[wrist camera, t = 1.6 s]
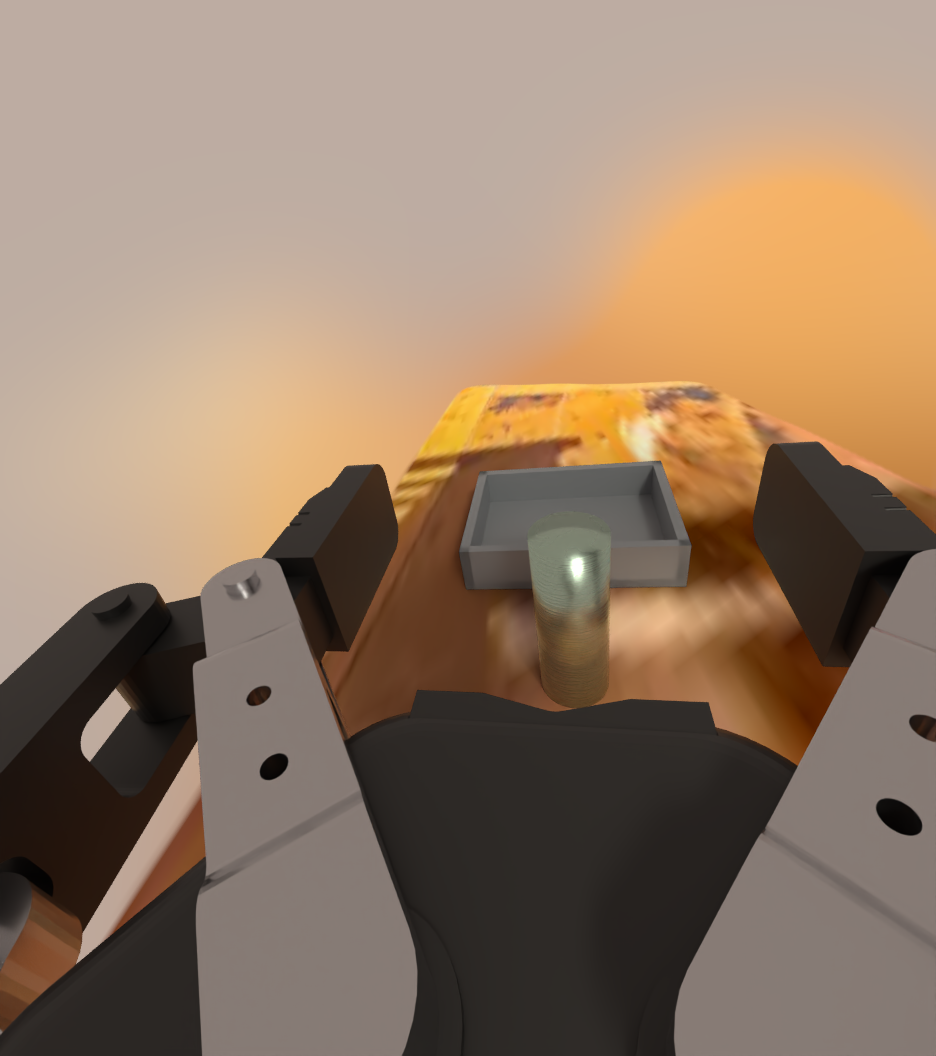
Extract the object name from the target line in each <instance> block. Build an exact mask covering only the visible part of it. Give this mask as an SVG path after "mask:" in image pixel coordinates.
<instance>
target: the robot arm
mask: <svg viewBox="0 0 936 1056" xmlns="http://www.w3.org/2000/svg"><path fill="white" fill-rule="evenodd" d="M298 513H299V514H298V515H297V516H295V517H294V519H293V520H292V521H291V522H290V526H288V527H286V529H285V530H284V531H283V532H282V534H281V535H280V536H279V537H278V538H277V540H276V541H275V542H274V544H273V545H272V546H271V547H270V548H269V550H268V551H267V552H266V553H265V555H264V556H263V557H262V558H256V559H250V560H245V561H242V562H239V563H236V564H234V565H231V566H229V567H227V568H225V569H223V570H222V571H220V572H219V573H217V574H216V575H215V576H213V577H212V578H211V579H210V580H209V581H208V582H207V583H206V585H205V586H204V587H203V589H202V592H201V596H197V597H193V598H189V599H184V600H179V601H175V602H170V603H166V604H165V602H164V600H163V599H162V597H161V596H160V594H159V592H158V591H157V589H156V588H155V587H154V586H153V585H151V584H147V583H135V584H130V585H126V586H122V587H119V588H116V589H113V590H111V591H109V592H106V593H104V594H102V595H101V596H99V597H97V598H95V599H94V600H92V601H91V602H89V603H88V604H86V605H85V606H84V607H83V608H82V609H80V610H79V611H78V612H77V613H76V614H75V615H74V616H73V617H72V618H71V619H70V620H69V621H68V622H66V623H65V624H64V625H63V626H62V627H61V628H60V629H59V630H58V631H57V632H56V633H55V634H54V635H53V636H52V637H51V638H49V639H48V640H47V641H46V642H45V643H44V644H43V645H42V646H41V647H40V648H39V649H38V650H37V651H36V652H35V653H34V654H33V655H31V656H30V657H29V658H28V659H27V660H26V661H25V662H24V663H23V664H22V665H21V666H20V667H19V668H18V669H17V670H16V671H14V673H12V674H11V675H10V676H9V677H8V678H7V679H6V680H5V681H4V682H3V683H2V684H1V685H0V1056H936V534H935V533H934V532H933V531H931V530H930V529H929V528H928V527H927V526H926V525H925V524H924V523H923V522H922V521H921V520H920V519H919V518H918V517H917V516H916V515H915V514H914V513H912V512H911V511H910V510H906V506H905V505H904V504H903V503H902V502H901V501H900V500H899V499H898V498H897V497H892V493H891V492H890V491H889V490H888V489H887V488H886V487H885V486H884V485H883V484H882V483H881V482H880V481H879V480H878V479H877V478H875V477H873V476H871V475H869V474H866V473H864V472H862V471H860V470H858V469H856V468H854V467H852V466H850V465H844V466H842V465H841V464H840V463H839V462H838V461H837V460H836V459H835V458H834V457H833V456H832V455H831V454H830V452H829V451H828V450H827V449H826V448H825V447H824V446H823V445H822V444H820V443H819V442H799V443H780V444H772V445H771V446H770V447H769V449H768V451H767V454H766V457H765V462H764V467H763V472H762V477H761V481H760V486H759V491H758V496H757V501H756V506H755V510H754V518H753V528H754V535H755V539H756V542H757V544H758V546H759V548H760V550H761V552H762V554H763V555H764V557H765V559H766V561H767V563H768V565H769V567H770V568H771V570H772V572H773V574H774V576H775V578H776V580H777V582H778V583H779V585H780V587H781V589H782V591H783V593H784V595H785V597H786V598H787V600H788V602H789V604H790V606H791V608H792V610H793V611H794V613H795V615H796V617H797V619H798V621H799V623H800V625H801V626H802V628H803V630H804V632H805V634H806V636H807V638H808V639H809V641H810V643H811V645H812V647H813V649H814V651H815V653H816V654H817V656H818V658H819V660H820V662H821V664H822V666H829V667H850V668H849V670H848V672H847V674H846V676H845V678H844V680H843V682H842V683H841V685H840V687H839V689H838V691H837V693H836V695H835V697H834V699H833V701H832V702H831V704H830V706H829V708H828V710H827V712H826V714H825V716H824V718H823V720H822V722H821V723H820V725H819V727H818V729H817V731H816V733H815V735H814V737H813V739H812V741H811V743H810V744H809V746H808V748H807V750H806V752H805V754H804V756H803V758H802V760H801V762H800V763H799V765H798V766H797V765H795V764H794V763H793V762H791V761H790V760H788V759H787V758H785V757H783V756H781V755H780V754H778V753H776V752H774V751H773V750H771V749H769V748H767V747H765V746H763V745H761V744H759V743H757V742H755V741H753V740H750V739H748V738H746V737H743V736H741V735H738V734H735V733H732V732H730V731H727V730H723V729H720V728H716V727H715V724H714V721H713V717H712V713H711V710H710V706H709V703H708V702H685V701H662V700H639V699H628V700H623V701H617V702H611V703H606V704H600V705H594V706H589V707H583V708H577V709H572V710H566V711H559V712H552V711H547V710H543V709H539V708H536V707H532V706H528V705H525V704H521V703H518V702H514V701H510V700H507V699H503V698H500V697H496V696H492V695H489V694H485V693H475V692H452V691H429V690H417V693H416V696H415V700H414V703H413V706H412V710H411V712H408V713H403V714H400V715H396V716H393V717H390V718H387V719H384V720H382V721H380V722H377V723H375V724H372V725H371V726H369V727H367V728H365V729H363V730H361V731H359V732H358V733H356V734H355V735H353V736H352V737H350V734H349V732H348V729H347V726H346V724H345V721H344V719H343V716H342V713H341V711H340V708H339V705H338V703H337V700H336V698H335V695H334V692H333V690H332V687H331V685H330V682H329V679H328V677H327V674H326V672H325V669H324V667H323V664H322V662H321V660H322V658H323V656H324V654H325V652H326V651H346V652H349V650H350V647H351V645H352V643H353V641H354V639H355V636H356V634H357V632H358V630H359V628H360V626H361V623H362V621H363V619H364V617H365V615H366V613H367V610H368V608H369V606H370V604H371V602H372V600H373V597H374V595H375V593H376V591H377V589H378V587H379V584H380V582H381V580H382V578H383V576H384V573H385V571H386V569H387V567H388V565H389V563H390V560H391V558H392V556H393V554H394V552H395V550H396V547H397V543H398V524H397V519H396V515H395V511H394V507H393V503H392V499H391V495H390V491H389V488H388V484H387V480H386V476H385V472H384V470H383V468H382V467H381V466H380V465H378V464H375V465H374V464H373V465H356V466H355V465H354V466H346V467H345V468H344V469H343V471H342V472H341V473H340V474H339V476H338V477H337V478H336V480H335V481H334V482H333V484H332V485H331V486H330V487H329V488H325V489H324V490H322V491H321V492H319V493H318V494H316V495H315V496H313V497H312V498H310V499H309V500H308V501H307V503H306V504H305V505H304V506H303V507H302V509H301V510H300V511H299V512H298ZM115 688H116V689H117V690H118V692H119V693H120V694H121V696H122V697H123V698H124V699H125V701H126V702H127V703H128V704H129V706H130V707H131V709H130V710H129V711H128V713H127V714H126V715H125V717H124V718H123V719H122V721H121V722H120V723H119V725H118V726H117V727H116V728H115V730H114V731H113V732H112V734H111V735H110V736H109V738H108V739H107V740H106V742H105V743H104V744H103V745H102V747H101V748H100V749H99V751H98V752H97V753H96V755H95V756H94V757H93V759H92V760H91V761H90V762H89V761H88V760H87V759H86V758H85V756H84V755H83V753H82V751H81V736H82V732H83V730H84V728H85V726H86V724H87V722H88V721H89V720H90V718H91V717H92V716H93V715H94V714H95V712H96V711H97V710H98V709H99V707H100V706H101V705H102V704H103V703H104V701H105V700H106V699H107V698H108V697H109V695H110V694H111V693H112V691H113V690H114V689H115ZM197 740H198V752H199V765H200V780H201V794H202V808H203V822H204V836H205V850H206V857H204V858H203V859H202V860H201V861H200V862H198V863H197V864H196V865H195V866H194V867H192V868H191V869H190V870H189V871H188V872H186V873H185V874H184V875H183V876H182V877H180V878H179V879H178V880H177V881H176V882H174V883H173V884H172V885H171V886H170V887H168V888H167V889H166V890H165V891H164V892H162V893H161V894H160V895H159V896H158V897H156V898H155V899H154V900H153V901H152V902H150V903H149V904H148V905H147V906H146V907H144V908H143V909H142V910H141V911H140V912H138V913H137V914H136V915H135V916H134V917H132V918H131V919H130V920H129V921H128V922H126V923H125V924H124V925H123V926H122V927H120V928H119V929H118V930H117V931H116V932H114V933H113V934H112V935H111V936H110V937H108V938H107V939H106V940H105V941H104V942H102V943H101V944H100V945H99V946H98V947H96V948H95V949H94V950H93V951H92V952H90V953H89V954H88V955H87V956H86V957H84V958H83V959H82V960H81V961H80V962H78V963H77V964H76V962H77V959H78V956H79V953H80V949H81V944H82V933H83V931H84V930H85V928H86V926H87V925H88V923H89V921H90V920H91V918H92V916H93V915H94V913H95V911H96V910H97V908H98V906H99V905H100V903H101V901H102V900H103V898H104V896H105V895H106V893H107V891H108V889H109V888H110V886H111V885H112V883H113V881H114V879H115V878H116V876H117V874H118V873H119V871H120V869H121V868H122V866H123V864H124V862H125V861H126V859H127V858H128V856H129V854H130V852H131V851H132V849H133V848H134V846H135V844H136V843H137V841H138V839H139V838H140V836H141V834H142V833H143V831H144V829H145V827H146V826H147V824H148V822H149V821H150V819H151V817H152V816H153V814H154V812H155V811H156V809H157V807H158V806H159V804H160V802H161V801H162V799H163V797H164V795H165V794H166V792H167V790H168V789H169V787H170V786H171V784H172V782H173V781H174V779H175V777H176V776H177V774H178V772H179V771H180V769H181V767H182V766H183V764H184V762H185V760H186V759H187V757H188V755H189V754H190V752H191V750H192V749H193V747H194V745H195V744H196V742H197Z"/></svg>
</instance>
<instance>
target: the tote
mask: <svg viewBox="0 0 936 1056" xmlns="http://www.w3.org/2000/svg"><path fill="white" fill-rule="evenodd" d="M567 511H575V512H583V513H588V514H591V515H594V516H596V517H598V518H600V519H602V520H603V521H604V522H605V523H606V524H607V525H608V526H609V528H610V531H611V559H610V588H617V587H686V584H687V576H688V568H689V560H690V552H691V543H690V540H689V538H688V535H687V532H686V529H685V527H684V524H683V521H682V518H681V515H680V513H679V510H678V507H677V504H676V502H675V499H674V496H673V493H672V491H671V488H670V485H669V482H668V479H667V477H666V474H665V471H664V468H663V466H662V463H661V461H648V462H632V463H615V464H599V465H582V466H566V467H549V468H532V469H516V470H499V471H483V472H480V473H479V477H478V481H477V485H476V488H475V492H474V496H473V500H472V504H471V508H470V511H469V515H468V519H467V523H466V527H465V531H464V534H463V538H462V542H461V546H460V550H459V555H460V561H461V566H462V571H463V576H464V581H465V586H466V589H532V579H531V569H530V559H529V549H528V538H527V534H528V531H529V529H530V527H531V526H532V525H533V524H534V523H535V522H536V521H537V520H539V519H541V518H543V517H545V516H547V515H550V514H553V513H558V512H567Z"/></svg>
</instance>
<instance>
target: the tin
mask: <svg viewBox="0 0 936 1056" xmlns="http://www.w3.org/2000/svg"><path fill="white" fill-rule="evenodd" d="M527 538H528V549H529V559H530V569H531V579H532V590H533V600H534V610H535V620H536V631H537V641H538V651H539V661H540V672H541V682H542V687H543V689H544V691H545V693H546V694H547V695H548V696H549V697H550V698H551V699H552V700H553V701H555V702H556V703H558V704H560V705H563V706H566V707H570V708H583V707H588V706H591V705H593V704H595V703H597V702H598V701H600V700H601V699H602V698H603V697H604V695H605V694H606V692H607V689H608V685H609V624H610V559H611V531H610V528H609V526H608V525H607V524H606V523H605V522H604V521H603V520H602V519H600V518H598V517H596V516H594V515H591V514H588V513H583V512H575V511H567V512H558V513H553V514H550V515H547V516H545V517H543V518H541V519H539V520H537V521H536V522H535V523H534V524H533V525H532V526H531V527H530V529H529V531H528V534H527Z"/></svg>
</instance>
